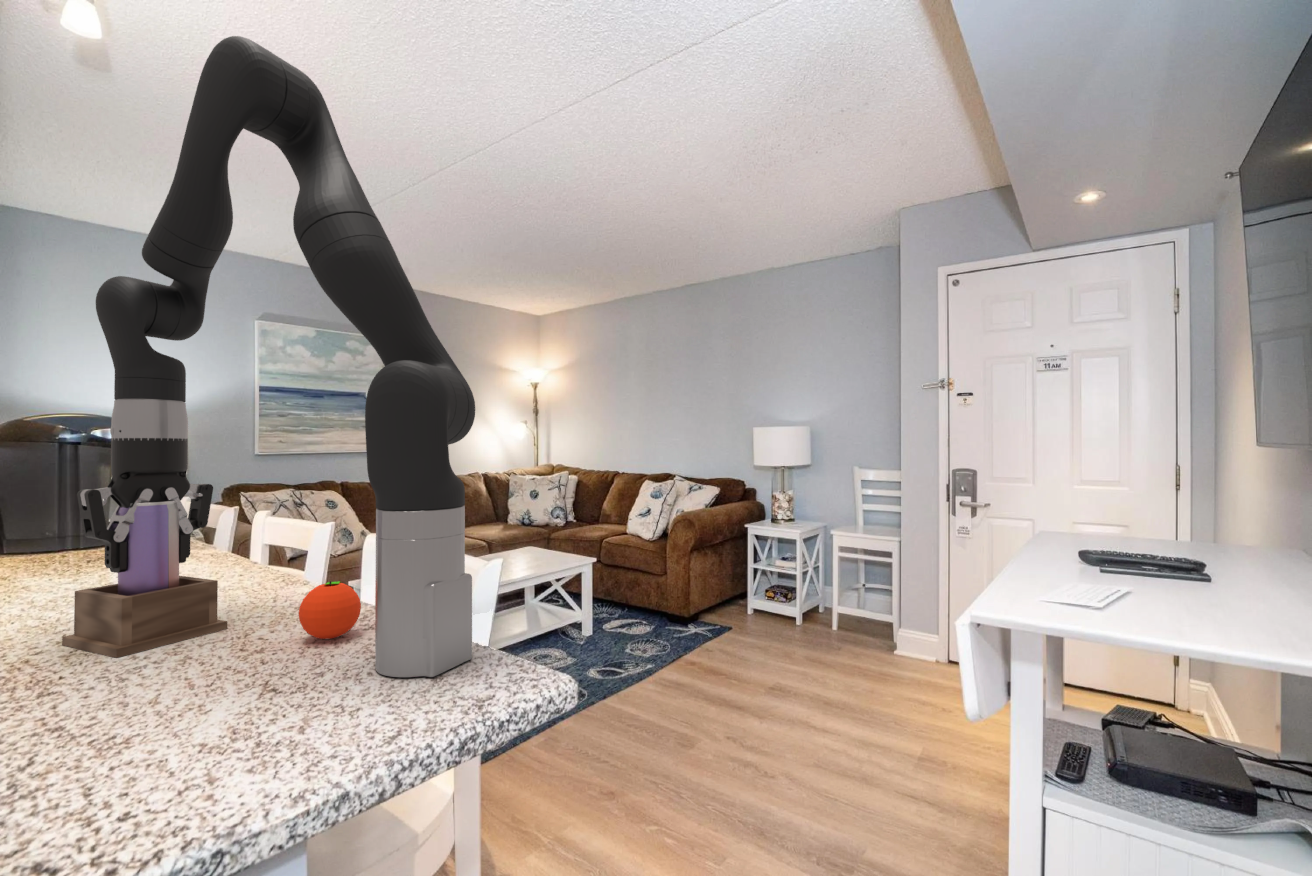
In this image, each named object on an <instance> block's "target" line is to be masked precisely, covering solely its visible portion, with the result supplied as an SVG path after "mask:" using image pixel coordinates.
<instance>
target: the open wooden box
mask: <svg viewBox="0 0 1312 876" xmlns="http://www.w3.org/2000/svg"><path fill="white" fill-rule="evenodd" d="M218 581H219V580H215V579H208V578H200V577H199V578H198V577H192V576H187V575H186V576H184V575H179V586H178V587H173V588H168V589H162V590H157V591H152V592H146V593H141V594H136V595H130V596H124V595H118V583H114V584H110V585H109V584H107V585H102V586H96V587H90V588H85V589H78V590H74V608H73V609H74V612H73V613H74V619H73V620H74V621H73V623H74V625H73V634H68V635H66V636H62V637H61V640H62V641H61V646H65V647H69V648H73V649H78V650H81V651H85V652H90V653H93V654H97V655H102V656H103V655H104V656H108V657H112V658H116V659H117V658H118V659H119V658H121V657H125V656H129V655H134V654H137V653H140V652H144V651H147V650H152V649H155V648H159V647H160V648H161V647H163V646H167V645H171V644H175V643H178V642H182V641H186V640H189V639H194V638H198V637H200V636H205V635H209V634H213V633H215V632H216V633H217V632H221V631H225V630H227V629H228V620H222V619H218V600H219V599H218V593H219V591H218V588H219V587H218V586H219V585H218V584H219V583H218Z"/></svg>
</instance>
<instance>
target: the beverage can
mask: <svg viewBox="0 0 1312 876" xmlns="http://www.w3.org/2000/svg"><path fill="white" fill-rule="evenodd" d="M176 502H177V500H174V501H165V502H150V503H137V508H136V510H135V512H134V523H133V524H130V525H129V532H128V534H127V536H126V538H125V539H124V540H123V542H127V569H126V571H125V572H120V573H117V584H118V595H124V596H130V595H136V594H141V593H146V592H152V591H157V590H162V589H168V588H173V587H178V586H179V576H180V563H179V508H178V506H177V503H176ZM132 504H133V503H131V504H130V505H132ZM129 508H130V507H129ZM129 508H124V507H122V508H121V507H120V509H119V511H118V515H119V516H124V515H125V514H126V513H127V512H128V510H129Z"/></svg>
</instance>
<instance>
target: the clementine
mask: <svg viewBox="0 0 1312 876" xmlns="http://www.w3.org/2000/svg"><path fill="white" fill-rule="evenodd" d="M361 610H362V605H361V599H360V597H359V595H358V593H357V592H356V591H355V590H354V589H353V588H352V587H351V586H350V585H348V584H346V583H342V581H339V580H338V581H327V582H326V583H322V584H319V585H316V587H314V588H312V589H311V590H310V591H309V592H308V593H306V595H305V596H304V597H303V599H302V601H301V603H300V606H299V608H298V619H299V622H300V624H301V627H302V629H303V631H305V632H306V633H307V634H308V635H310V636H311V637H313V638H316V639H321V640H331V639H336V638H338V637H340V636H342V635H345V634H346V633H347V632H349V631H350V630H351V629H353V627H354V626H355V625H356V624H357V621H358V619H359V617H360V615H361Z"/></svg>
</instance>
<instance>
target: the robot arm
mask: <svg viewBox="0 0 1312 876" xmlns="http://www.w3.org/2000/svg"><path fill="white" fill-rule="evenodd" d="M196 86H197V87H196V91H195V93H194V97H193V102H192V105H191V110H190V113H189V116H188V117H189V118H188V120H187V124H186V128H185V132H184V135H183V140H182V145H181V148H180V149H181V150H180V154H179V157H178V161H177V165H176V169H175V173H174V177H173V181H172V183H171V185H170V189H169V191H168V193H167V196H166V198H165V200H164V202H163V203H162V204H163V205H161V206H162V207H161V208H160V210H159V212H158V214H157V216H156V219H155V220H154V223H153V225H152V227H151V229H150V230H149V233H148V234H147V236H146V239H145V241H144V242H143V245H142V249H141V257H142V259H143V261H144V262H145V263H146V264H147V266H149V267H150V268H151V269H153V270H154V271H156V272H157V273H159V274H161V275H163V276H164V277H167V278H169V279H171V280H172V282H171V284H170V285H166V284H163V283H158V282H157V283H156V282H152V281H148V280H144V279H140V278H135V277H129V276H123V275H122V276H121V275H117V276H113V277H110V278H109V279H107V280H106V281H104V282H103V283H102V284H101V285H100V287H99V288H98V290H97V293H96V295H95V296H96V297H95V311H96V315H97V319H98V321H99V323H100V327H101V330H102V332H103V335H104V338H105V341H106V344H107V347H108V351H109V354H110V356H111V360H112V363H113V368H114V385H113V386H114V387H113V388H114V389H113V390H114V391H113V393H114V398H113V399H114V404H113V409H112V414H111V423H110V425H111V427H110V429H109V432H110V436H111V439H110V440H111V441H110V445H111V446H110V452H111V453H110V472H111V480H110V482H109V483H108V485H107V486H106V487H100V488H94V489H91V488H90V489H87V488H86V489H85V488H84V489H80V490H79V491H78V492H77V494H76V497H77V503H78V508H79V513H80V518H81V525H82V530H83V535H84V537H85V538H87V539H93V540H94V539H95V540H100V541H101V542H103V543H104V566H105V567H106V569H109V571H110V572H111V573H116V574H118V573H120V572H125V571H126V569H127V542H123V540H124V539H125V538H126V536H127V534H128V532H129V525H130V524H133V523H134V512H135V510H136V508H137V503H150V502H165V501H174V500H177V502H176V503H177V506H178V508H179V564H184V563H186V562H187V558H189V557H190V555H191V534H192V533H193V532H194V531H196V530H198V529H201V528H203V529H204V528H206V526H208V522H209V517H210V510H211V506H212V505H211V504H212V498H213V491H214V486H213V485H212V484H210V483H190V481H189V480H188V477H187V473H188V467H189V466H188V464H189V463H188V460H189V458H188V456H189V454H188V453H189V447H188V445H189V440H188V439H189V421H188V420H189V417H188V413H187V405H186V404H187V403H186V401H187V399H186V397H187V396H186V395H187V394H186V393H187V391H186V390H187V385H186V382H187V379H186V378H187V376H186V375H187V373H186V367H185V364H184V363H183V361H181V360H179V359H177V358H175V357H172V356H169V355H166V354H163V353H161V352H160V351H159V352H158V351H156V350H155V349H154V348H153V347H152V346H151V344H150V342H149V340H148V338H147V337H149V338H158V339H162V340H168V341H178V342H179V341H185V340H187V339H190V338H191V337H193V336H194V335H196V334H197V333H198V332H199V331H200V329H201V328H202V326H203V322H204V317H205V312H206V311H205V309H206V301H207V294H208V289H209V283H210V277H211V275H212V271H214V268H215V266H216V264H217V262H218V260H219V258H220V257H221V254H222V253H223V251H224V249H225V247H226V245H227V243H228V241H229V239H230V236H231V233H232V229H233V223H234V211H233V203H232V197H231V190H230V183H229V159H230V155H231V151H232V149H233V146H234V144H235V143H236V140H237V139H238V137H239V136H240V134H241V132H242V131H243V130H245V131H248V132H250V133H252V134H255V135H257V136H259V137H261V138H263V139H265V140H267V141H269V142H271V143H273V144H274V145H275V146H276V148H278V149H279V150H280V151H281V153H282V154H283V155H284V157H285V159H286V160H287V162H288V163H289V166H290V167H291V170H292V171H293V174H294V176H295V178H296V180H297V182H298V187H299V190H298V194H297V198H296V201H295V204H294V211H293V217H292V219H293V222H292V223H293V233H294V235H295V238H296V240H297V241H296V242H297V243H298V245H299V246H298V247H299V248H300V251H301V252H302V255H303V257H304V258H305V260H306V262H307V264H308V266H309V268H310V270H311V272H312V274H313V276H314V278H315V280H316V282H317V283H318V285H319V287H320V288H321V289H322V291H323V292H324V294H326V295H327V297H328V298H329V299H330V301H331V302H332V303H333V304H334V305H335V306H336V307H337V309H338V310H339V311H340V312H341V313H342V314H343V316H345V317H346V318H347V320H349V322H350V323H351V324H352V325H353V326H354V327H355V328H356V330H358V331H359V333H361V335H362V336H363V337H365V339H366V340H367V342H369V344H370V346H372V348H373V349H374V350H375V352H376V353H377V355H378V356H379V359H380V360H381V362H382V364H383V367H382V368H381V369H380V370H378V371H377V373H376V374H375V376H374V377H373V379H372V381H371V382H370V383H369V384H370V385H369V386H368V390H367V394H366V397H365V398H366V399H365V408H364V411H365V412H364V421H365V422H364V427H365V428H364V429H365V444H366V445H365V446H366V447H365V448H366V449H365V451H366V464H367V465H366V467H367V469H366V470H367V476H368V480H369V484H370V486H371V489H372V490H373V492H374V498H375V508H376V509H375V596H374V597H375V602H374V603H375V604H374V605H375V610H374V611H375V612H374V613H375V618H374V619H375V620H374V621H375V623H374V625H375V631H374V632H375V633H374V634H375V641H374V642H375V646H374V647H375V656H374V661H375V663H374V664H375V665H374V666H375V667H374V668H375V670H376V672H377V673H378V674H380V675H382V676H387V677H391V678H414V677H415V678H416V677H428V678H435V677H436V676H439V675H440V674H442V673H445V672H447V671H448V670H450V669H453V668H455V667H458V666H459V665H461V664H464V663H465V662H468V661H469V660H472V658H473V576H472V574H470V573H467V572H466V571H465V570H466V569H465V568H466V566H465V565H466V558H465V557H466V555H465V554H466V553H465V552H466V546H465V545H466V544H465V543H466V538H465V535H466V532H465V531H466V521H465V520H466V511H465V510H466V506H465V504H466V495H465V494H466V491H465V484H464V482H463V481H462V479H460V478H459V477H458V476H457V474H455V472H454V471H453V468H452V465H451V463H450V453H449V451H450V449H449V445H453V444H455V443H457V442H460V441H461V440H462V439H464V438H465V437H466V436H467V435H468V433H470V431H471V429H472V427H473V425H474V422H475V417H476V401H475V397H474V394H473V391H472V388H471V387H470V385H469V383H468V382H467V380H466V378H465V377H464V375H463V374H462V372H461V371H460V369H459V367H458V366H457V365H456V363H455V362H454V360H453V358H452V357H451V356H450V354H449V352H448V351H447V349H446V347H444V345H443V344H442V342H441V340H440V339H439V337H438V335H437V333H436V332H435V330H434V329H433V327H432V325H431V323H430V322H429V320H428V318H427V315H426V313H425V311H424V310H423V306H422V305H421V303H420V300H419V299H418V297H417V294H416V292H415V290H414V288H413V286H412V284H411V282H410V279H408V276H407V274H406V272H405V270H404V269H403V267H402V264H401V263H400V260H399V258H398V256H397V253H396V251H395V249H394V247H393V244H392V242H391V241H390V240H389V237H388V235H387V234H386V232H385V229H384V227H383V226H382V223H381V222H380V219H379V218H378V216H377V214H376V213H375V211H374V209H373V208H372V205H371V204H370V202H369V199H368V197H367V196H366V194H365V192H364V189H363V188H362V186H361V183H360V181H359V180H358V177H357V175H356V173H355V171H354V169H353V168H352V166H351V164H350V161H349V159H348V157H347V156H346V153H345V150H344V148H343V145H342V142H341V139H340V137H339V134H338V132H337V128H336V127H335V124H334V121H333V119H332V116H331V112H330V110H329V108H328V105H327V102H326V100H325V98H324V96H323V94H322V93H321V90H320V89H319V87H318V86H317V85H316V84H315V82H314V81H313V80H312V79H311V77H309V76H308V75H307V74H306V73H305V72H303V71H302V70H300V69H299V68H297V67H296V66H294V65H292V64H291V63H289V62H288V61H286V60H284V59H282V58H281V57H280V56H278V55H276V54H275V53H273V52H272V51H270V50H268V49H267V48H265V47H264V46H262V45H260V44H258V43H257V42H255V41H254V40H252V39H250V38H247V37H244V36H240V35H237V36H236V35H232V36H229V37H225V38H223V39H222V40H221V41H219V42H217V44H216V45H215V46H214V47H213V48H212V50H211V52H210V53H209V55H208V57H207V58H206V61H205V63H204V65H203V67H202V71H201V72H200V76H199V80H198V83H197V85H196ZM187 493H188V497H189V498H190V504H189V509H188V510H189V511H188V512H187V510H186V509H185V507H184V505H183V503H182V500H183V498H184V497H185V496H186V494H187ZM109 497H110V498H111V499H112V500H113V501H114V502H115V504H117V505H116V507H115V509H114V511H113V513H112V514H111V516H110V518H109V524H108V525H107V523H106V516H105V511H104V506H105V505H106V504H107V502H108V498H109ZM131 503H133V504H132V505H130V504H131ZM120 507H121V508H122V507H124V508H129V507H130V508H129V510H128V512H127V513H126V514H125V515H124V516H119V515H118V511H119V509H120Z"/></svg>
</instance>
